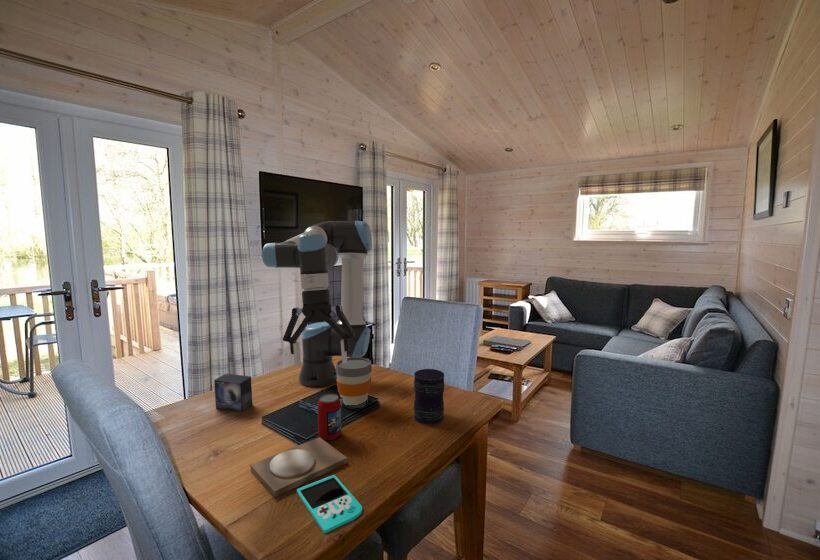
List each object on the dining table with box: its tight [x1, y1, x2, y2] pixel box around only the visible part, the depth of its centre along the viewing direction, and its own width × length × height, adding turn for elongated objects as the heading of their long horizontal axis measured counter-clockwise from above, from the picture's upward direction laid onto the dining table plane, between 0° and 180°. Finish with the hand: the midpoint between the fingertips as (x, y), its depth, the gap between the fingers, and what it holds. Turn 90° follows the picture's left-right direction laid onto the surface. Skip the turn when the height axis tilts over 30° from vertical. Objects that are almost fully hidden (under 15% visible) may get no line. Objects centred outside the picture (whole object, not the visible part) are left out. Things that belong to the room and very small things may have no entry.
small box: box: [213, 373, 253, 413], centre depth 137 cm, size 11×6×10 cm, turn 76°
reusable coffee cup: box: [335, 357, 373, 405], centre depth 139 cm, size 13×13×15 cm
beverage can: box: [317, 393, 342, 441], centre depth 118 cm, size 7×7×12 cm
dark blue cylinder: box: [413, 368, 445, 426], centre depth 129 cm, size 10×10×15 cm
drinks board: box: [250, 436, 348, 498], centre depth 103 cm, size 20×14×2 cm
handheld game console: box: [296, 474, 363, 534], centre depth 90 cm, size 10×16×1 cm, turn 36°
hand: (321, 364), depth 112 cm, fingers open, 13 cm apart
